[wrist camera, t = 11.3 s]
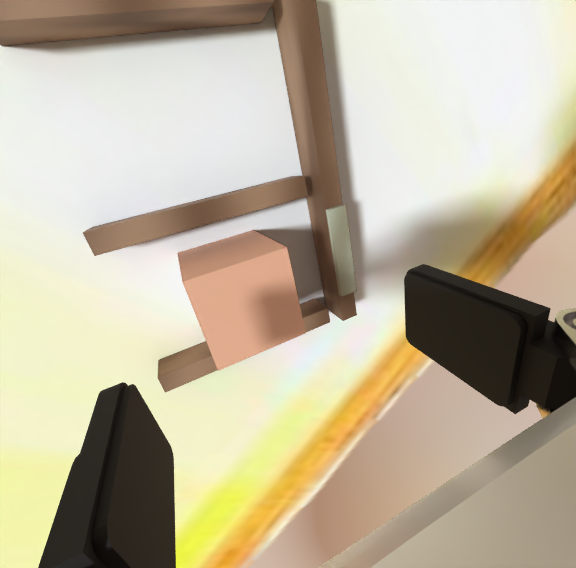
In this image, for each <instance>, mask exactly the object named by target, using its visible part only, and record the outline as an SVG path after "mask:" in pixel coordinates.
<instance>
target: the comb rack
mask: <svg viewBox="0 0 576 568" xmlns="http://www.w3.org/2000/svg"><path fill="white" fill-rule="evenodd" d="M271 6H272V7H273V13H274V18H275V24H276V30H277V35H278V41H279V46H280V52H281V58H282V63H283V69H284V74H285V80H286V86H287V91H288V97H289V102H290V108H291V114H292V119H293V125H294V130H295V136H296V142H297V147H298V153H299V158H300V164H301V170H302V175H303V176H291V177H287V178H283V179H279V180H275V181H271V182H268V183H264V184H260V185H256V186H252V187H248V188H244V189H240V190H236V191H232V192H228V193H224V194H220V195H217V196H213V197H209V198H205V199H201V200H197V201H193V202H189V203H185V204H181V205H177V206H173V207H169V208H166V209H162V210H158V211H154V212H150V213H146V214H142V215H138V216H134V217H130V218H126V219H122V220H119V221H115V222H111V223H107V224H103V225H99V226H95V227H92V228H90V229H88V230H87V231H85V232H83V234H84V236H85V238H86V240H87V242H88V244H89V246H90V248H91V250H92V252H93V254H94V256H96V255H100V254H103V253H107V252H111V251H114V250H118V249H121V248H125V247H128V246H132V245H136V244H139V243H143V242H146V241H150V240H153V239H157V238H160V237H164V236H168V235H171V234H175V233H178V232H182V231H185V230H189V229H193V228H196V227H200V226H203V225H207V224H210V223H214V222H217V221H221V220H225V219H228V218H232V217H235V216H239V215H242V214H246V213H249V212H253V211H257V210H260V209H264V208H267V207H271V206H274V205H278V204H282V203H285V202H289V201H292V200H296V199H299V198H303V197H307V203H308V209H309V214H310V220H311V225H312V231H313V237H314V242H315V248H316V253H317V259H318V265H319V270H320V276H321V281H322V287H323V293H324V298H325V304H326V306H324V305H323V304H322V303H320V302H319V301H318V300H316V299H312V300H310V301H307V302H305V303H302V304H300V308H301V313H302V317H303V322H304V326H305V331H306V332H308V331H310V330H313V329H315V328H317V327H320V326H322V325H324V324H327V323H329V322H330V318H329V312H328V310H330V311H331V312H332V313H333V314H335V315H336V316H337V317H339V318H340V319H341V320H343V321H344V320H346V319H349V318H351V317H353V316H356V315H357V313H356V306H355V298H354V292H355V291H357V290H356V282H355V274H354V266H353V258H352V250H351V242H350V234H349V226H348V218H347V210H346V205H342V198H341V190H340V183H339V175H338V167H337V160H336V152H335V144H334V136H333V129H332V121H331V113H330V106H329V98H328V90H327V83H326V75H325V67H324V60H323V52H322V44H321V36H320V29H319V21H318V13H317V6H316V0H0V45H1V46H6V45H18V44H29V43H40V42H51V41H62V40H74V39H85V38H96V37H107V36H118V35H129V34H141V33H152V32H163V31H174V30H185V29H197V28H208V27H219V26H230V25H241V24H253V23H262V21H263V19H264V18H265V16H266V14H267V13H268V11H269V9H270V8H271ZM217 370H218V369H217V367H216V364H215V362H214V359H213V357H212V354H211V352H210V349H209V347H208V344H207V342H203V343H201V344H198V345H196V346H193V347H191V348H188V349H186V350H183V351H181V352H178V353H176V354H173V355H170V356H168V357H165V358H163V359H160V360H158V379H159V381H160V383H161V385H162V387H163V389H164V391H165V392H167V391H170V390H172V389H174V388H177V387H179V386H182V385H184V384H186V383H189V382H191V381H193V380H196V379H198V378H200V377H203V376H205V375H207V374H210V373H212V372H214V371H217Z"/></svg>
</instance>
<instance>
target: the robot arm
mask: <svg viewBox="0 0 576 568" xmlns="http://www.w3.org/2000/svg"><path fill="white" fill-rule="evenodd" d="M404 286H405V324H406V338H407V340H408V342H409V343H410V344H411V345H412V346H414V347H415V348H417V349H418V350H420V351H421V352H422V353H424V354H425V355H427V356H428V357H430V358H431V359H432V360H434V361H435V362H437V363H438V364H440V365H441V366H443V367H444V368H445V369H447V370H448V371H450V372H451V373H453V374H454V375H455V376H457V377H458V378H460V379H461V380H463V381H464V382H465V383H467V384H468V385H470V386H471V387H473V388H474V389H475V390H477V391H478V392H480V393H481V394H482V395H484V396H485V397H487V398H488V399H490V400H491V401H492V402H494V403H495V404H497V405H499V406H504V407H506V408H507V409H509V410H510V411H511V412H513V413H514V414H516V413H518V412H519V411H521V410H523V409H524V408H526V407H527V406H528V404H529V400H532V401H533V402H535V403H536V405H537V408H538V410H539V412H540V413H541V415H542V417H543V419H542V420H540V421H538V422H537V423H535V424H534V425H532V426H531V427H529V428H528V429H526V430H525V431H523V432H522V433H520V434H518V435H517V436H515V437H514V438H512V439H511V440H509V441H508V442H506V443H505V444H503V445H502V446H500V447H499V448H497V449H496V450H494V451H493V452H491V453H490V454H488V455H487V456H485V457H484V458H482V459H481V460H479V461H478V462H476V463H475V464H473V465H472V466H470V467H469V468H467V469H465V470H464V471H463V472H461V473H459V474H458V475H456V476H455V477H453V478H452V479H450V480H449V481H447V482H446V483H444V484H443V485H441V486H440V487H438V488H437V489H435V490H434V491H432V492H431V493H429V494H428V495H426V496H425V497H423V498H422V499H420V500H419V501H418V502H416V503H414V504H413V505H411V506H410V507H408V508H407V509H405V510H404V511H402V512H401V513H399V514H398V515H396V516H395V517H393V518H392V519H390V520H389V521H387V522H386V523H384V524H383V525H381V526H380V527H378V528H377V529H376V530H374V531H372V532H371V533H370V534H368V535H366V536H365V537H363V538H362V539H360V540H359V541H357V542H356V543H355V544H353V545H351V546H350V547H348V548H347V549H345V550H344V551H343V552H341V553H340V554H338V555H337V556H335V557H334V558H332V559H331V560H329V561H328V562H326V563H325V564H323V565H322V566H320V567H319V568H576V308H573V309H566V310H562V311H560V312H559V313H557V314H556V318H555V322H552V321H549V320H548V317H549V313H550V308H548V307H545V306H542V305H539V304H536V303H533V302H531V301H528V300H525V299H522V298H519V297H517V296H514V295H511V294H508V293H505V292H502V291H499V290H497V289H494V288H491V287H488V286H485V285H482V284H479V283H477V282H474V281H471V280H468V279H465V278H462V277H459V276H457V275H454V274H451V273H448V272H445V271H442V270H439V269H437V268H434V267H431V266H428V265H424V264H423V265H420V266H417V267H415V268H412V269H410V270H409V271H408V272H407V275H406V276H405V279H404ZM38 568H176V555H175V504H174V458H173V452H172V449H171V446H170V444H169V442H168V441H167V439H166V437H165V435H164V434H163V432H162V430H161V429H160V427H159V425H158V423H157V422H156V420H155V418H154V417H153V415H152V413H151V411H150V410H149V408H148V406H147V405H146V403H145V401H144V399H143V398H142V396H141V394H140V393H139V391H138V389H137V388H136V386H135V385H134V384H132V385H129V386H128V385H127V384H126V383H120V384H118V385H115V386H113V387H110V388H107V389H105V390H102V391H101V392H100V393H99V395H98V398H97V402H96V405H95V408H94V411H93V414H92V417H91V421H90V424H89V427H88V430H87V433H86V436H85V440H84V443H83V446H82V449H81V452H80V454H79V455H78V456H77V457H76V458H75V460H74V462H73V464H72V467H71V470H70V473H69V476H68V479H67V482H66V485H65V488H64V491H63V494H62V497H61V500H60V503H59V506H58V509H57V512H56V515H55V518H54V521H53V525H52V528H51V531H50V534H49V537H48V540H47V543H46V546H45V549H44V552H43V555H42V558H41V561H40V564H39V567H38Z"/></svg>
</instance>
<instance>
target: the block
mask: <svg viewBox="0 0 576 568" xmlns="http://www.w3.org/2000/svg"><path fill="white" fill-rule="evenodd" d="M178 258H179V264H180V270H181V276H182V282H183V284H184V287H185V289H186V292H187V294H188V297H189V299H190V302H191V304H192V307H193V309H194V312H195V314H196V317H197V319H198V322H199V324H200V327H201V329H202V332H203V334H204V337H205V339H206V342H207V344H208V347H209V349H210V352H211V354H212V357H213V359H214V362H215V364H216V367H217V369H218V370H221V369H223V368H225V367H228V366H230V365H232V364H235V363H237V362H239V361H242V360H244V359H246V358H249V357H251V356H253V355H256V354H258V353H260V352H263V351H265V350H267V349H270V348H272V347H274V346H277V345H279V344H281V343H284V342H286V341H288V340H291V339H293V338H295V337H298V336H300V335H302V334H305V333H306V331H305V326H304V322H303V317H302V313H301V308H300V304H299V299H298V295H297V290H296V286H295V281H294V277H293V272H292V268H291V263H290V259H289V254H288V250H287V247H285V246H283V245H281V244H280V243H278V242H276V241H274V240H272V239H270V238H268V237H266V236H264V235H262V234H260V233H258V232H256V231H254V230H252V231H249V232H245V233H242V234H239V235H235V236H232V237H229V238H225V239H222V240H219V241H215V242H212V243H209V244H205V245H202V246H199V247H195V248H192V249H189V250H185V251H182V252H179V253H178Z"/></svg>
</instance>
